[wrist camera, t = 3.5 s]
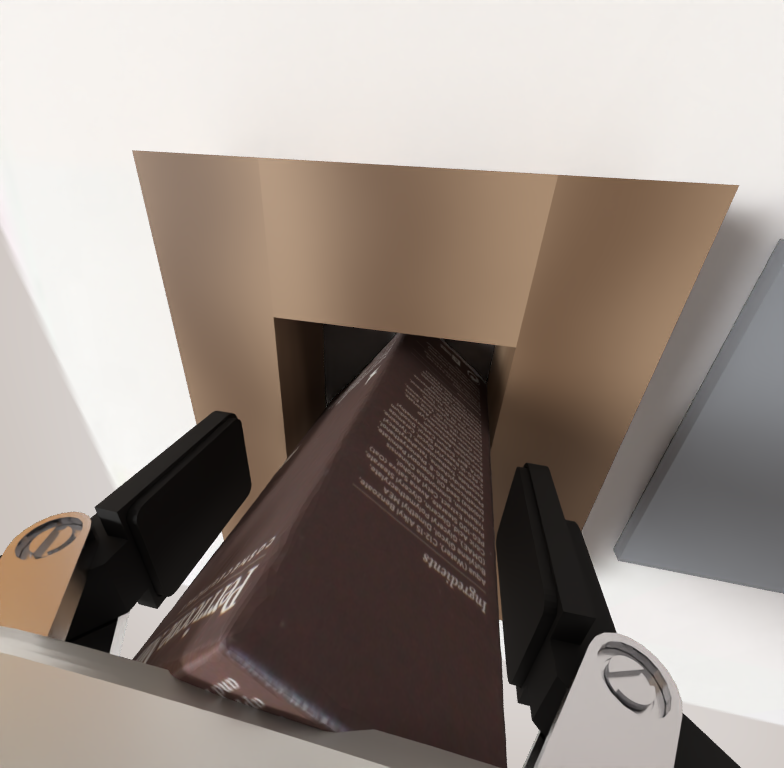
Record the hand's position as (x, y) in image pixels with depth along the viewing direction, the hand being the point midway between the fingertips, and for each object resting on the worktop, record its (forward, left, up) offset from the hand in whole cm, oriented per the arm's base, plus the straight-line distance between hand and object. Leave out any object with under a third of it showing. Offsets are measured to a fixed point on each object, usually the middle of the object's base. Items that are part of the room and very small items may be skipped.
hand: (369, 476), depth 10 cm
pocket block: (0, 0, -6) cm, 6 cm away
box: (0, 0, -6) cm, 6 cm away
